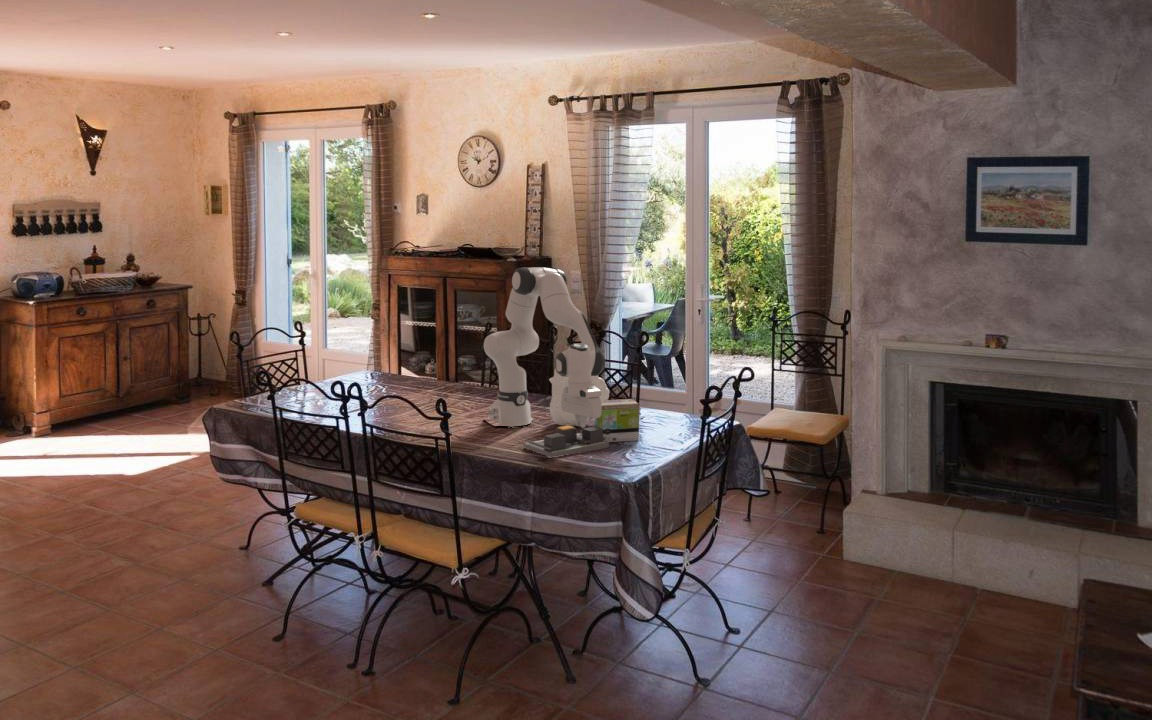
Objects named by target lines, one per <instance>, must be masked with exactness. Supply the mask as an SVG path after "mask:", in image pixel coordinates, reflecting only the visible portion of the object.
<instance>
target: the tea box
mask: <svg viewBox="0 0 1152 720" xmlns="http://www.w3.org/2000/svg"><path fill="white" fill-rule="evenodd" d="M601 405H602V413H601V416H600V418H595V419H594V426H595V427H599V428H602V429H603V437H605V440H604V441H607V442H609V443H616V442H617V443H618V442H638V441H639V439H640V403H638V402H637V401H636V400H634V399H632V398H627V399H626V398H625V399H611V400H609V399H608V400H605V401H601Z"/></svg>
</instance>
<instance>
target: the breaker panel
mask: <svg viewBox="0 0 1152 720" xmlns="http://www.w3.org/2000/svg"><path fill="white" fill-rule="evenodd" d="M604 440H605V437H603V429H602V428H599V427H595V425H594V426H589V427H584V428H581V430H580V431H579V433H577V441H579V442H582V443H578V444H573V445H571V444H569V443H566V436H565V435H562V434H559V433H556V432H555V433H552V434H546V435H544V436H543V437H542V439H541V440H535V441H533V440H530V439H527V440H526V443H523V448H524V447H526V448H529V449H532V450H534V451H537V452H540V453H543V454H545V455H548V456H550V457H552V456H559V455H566V454H573V453H578V454H580V453H579V452H583V453H586V452H585V451H588V452H592V451H591V450H593V451H597V450H596V449H598V450H602V449H607V448H609V447H610V442H607V441H604ZM573 455H574V454H573Z"/></svg>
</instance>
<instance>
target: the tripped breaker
mask: <svg viewBox="0 0 1152 720" xmlns="http://www.w3.org/2000/svg"><path fill="white" fill-rule="evenodd" d="M554 430H555V434H556V433H559V434H562V435H565V436H566V443H569V444H571V445H573V444H578V443H582V442H579V441H577V434H578V431H577V428H576V426H569V425H561V426H558V427H555V429H554Z"/></svg>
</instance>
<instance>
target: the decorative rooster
mask: <svg viewBox="0 0 1152 720" xmlns="http://www.w3.org/2000/svg"><path fill="white" fill-rule="evenodd" d="M591 377H592V384H594V385H595V386H596V387H597V388H598V389H599V390H601V396H599V397H600V399H601V401H605V400H609V397H610V389H609V388H608V387H607V384H606V382H605V380H604V378H602V377H599V375H598V376H591ZM568 378H569V377H562V376H561V375H559V374H558V373H557V372H556V368H555V367H554V375H553V376H552V377H550V378H549V379H548V380H549V382H550V383H551V395H552V396H551V400H550V403H549V415H550V417H551V419H552V420H553V422H554V423H555V424H557V425H558V426H568V425H569V426H572V427H578V426H577V421H576V419H575V414H573V413H569V412H565V411H563V410H562V408H561V401H562V394H563V389H564V388H565V387H566V386H568ZM581 419H582V418H581ZM590 419H591V418H588V417H587V420H586V422H585V424H587V423H588V422H589V421H590Z"/></svg>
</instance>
